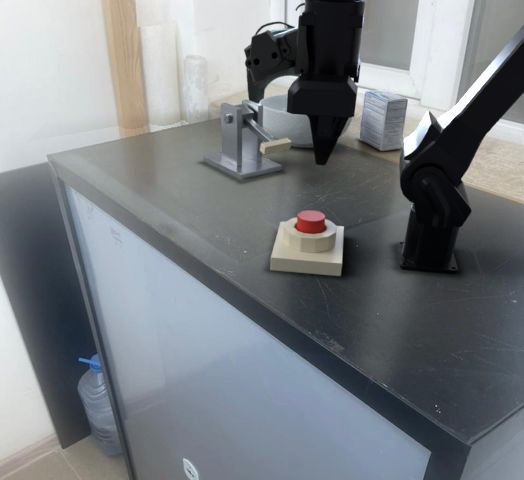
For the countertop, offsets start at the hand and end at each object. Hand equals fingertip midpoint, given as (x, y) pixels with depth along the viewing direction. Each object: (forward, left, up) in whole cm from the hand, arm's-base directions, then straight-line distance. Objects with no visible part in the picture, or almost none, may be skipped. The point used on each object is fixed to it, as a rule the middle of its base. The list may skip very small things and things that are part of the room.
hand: (320, 164), depth 61 cm
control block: (-2, 0, -10) cm, 10 cm away
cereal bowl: (+43, +4, -10) cm, 45 cm away
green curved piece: (+69, +9, -10) cm, 71 cm away
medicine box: (+45, -10, -10) cm, 48 cm away
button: (-2, 0, -7) cm, 7 cm away
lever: (+25, +11, -5) cm, 27 cm away
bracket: (+27, +13, -10) cm, 32 cm away
